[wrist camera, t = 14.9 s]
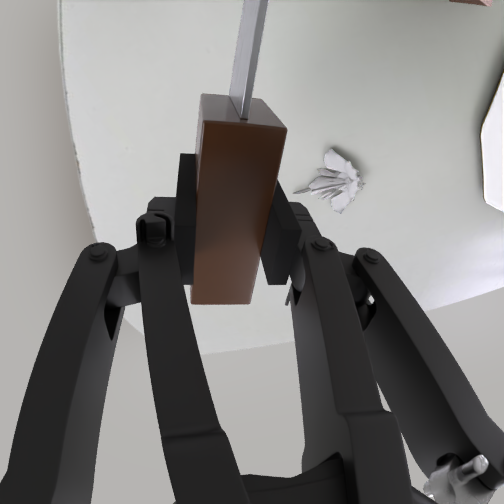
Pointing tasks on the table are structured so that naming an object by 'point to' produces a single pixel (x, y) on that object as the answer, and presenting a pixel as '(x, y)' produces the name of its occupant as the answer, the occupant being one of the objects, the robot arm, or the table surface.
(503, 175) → the plate
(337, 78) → the table surface
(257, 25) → the cake knife
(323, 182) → the flower
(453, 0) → the cake
